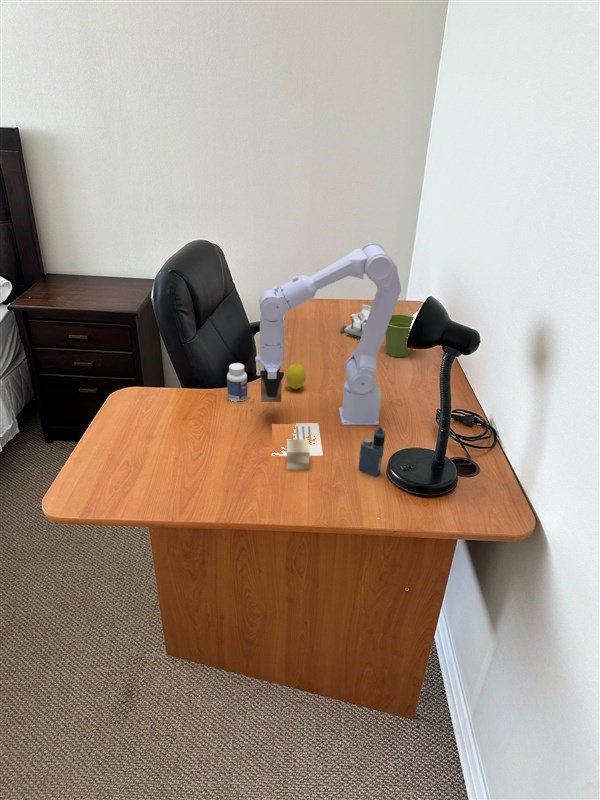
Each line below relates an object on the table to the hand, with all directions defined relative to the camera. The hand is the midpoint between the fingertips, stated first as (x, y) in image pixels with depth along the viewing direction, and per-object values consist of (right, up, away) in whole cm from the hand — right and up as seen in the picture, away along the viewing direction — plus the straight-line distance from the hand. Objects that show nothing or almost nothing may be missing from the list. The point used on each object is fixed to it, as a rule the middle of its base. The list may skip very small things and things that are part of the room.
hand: (272, 390), depth 140 cm
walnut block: (0, -2, +1) cm, 2 cm away
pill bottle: (-10, -2, +13) cm, 17 cm away
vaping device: (+23, -19, -14) cm, 32 cm away
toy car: (+29, +21, +55) cm, 66 cm away
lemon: (+6, +1, +18) cm, 19 cm away
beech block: (+6, -17, -12) cm, 22 cm away
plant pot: (+38, +13, +41) cm, 58 cm away
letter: (+6, -12, -3) cm, 14 cm away
